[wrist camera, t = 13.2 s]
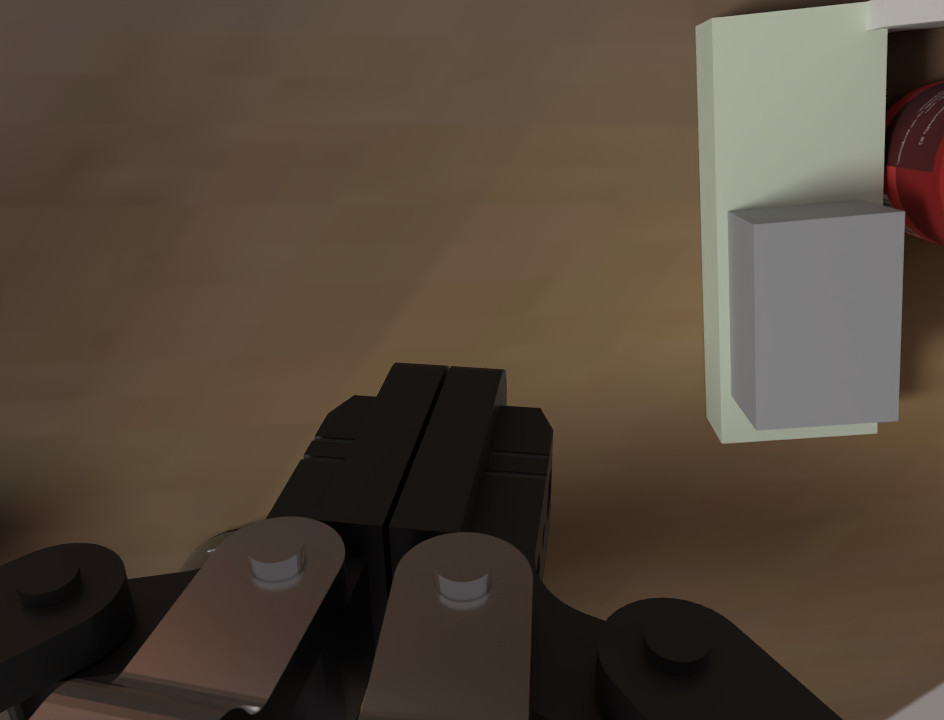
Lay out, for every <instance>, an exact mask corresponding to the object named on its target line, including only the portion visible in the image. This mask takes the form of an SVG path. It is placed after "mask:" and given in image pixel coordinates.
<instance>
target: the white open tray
mask: <svg viewBox="0 0 944 720" xmlns="http://www.w3.org/2000/svg"><path fill="white" fill-rule="evenodd" d="M939 27H944V0H870V1H867V2H858V3H849V4H840V5H830V6H821V7H812V8H802V9H793V10H784V11H774V12H765V13H756V14H746V15H737V16H728V17H718V18H711V19H709V20H707V21H705V22H704V23H702V24H700V25H698V26H696V61H697V96H698V132H699V168H700V204H701V240H702V276H703V312H704V347H705V383H706V417H707V419H708V421H709V422H710V424H711V426H712V428H713V429H714V431H715V433H716V435H717V436H718V438H719V440H720V441H721V443H722V444H726V443H741V442H756V441H771V440H786V439H801V438H816V437H831V436H846V435H861V434H876V433H877V422H892V421H898V415H899V384H900V353H901V323H902V292H903V261H904V230H905V211H902V210H898V209H894V208H891V207H887V206H883V186H884V147H885V109H886V70H887V33H891V32H901V31H910V30H920V29H929V28H939Z"/></svg>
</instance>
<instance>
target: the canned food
mask: <svg viewBox="0 0 944 720" xmlns="http://www.w3.org/2000/svg"><path fill="white" fill-rule="evenodd" d="M883 206H887V207H891V208H894V209H898V210H902V211H905V230H904V233H906V234H908V235H911V236H914V237H917V238H920V239H923V240H926V241H929V242H932V243H935V244H938V245H941V246H944V81H938V82H934V83H931V84H927V85H924V86H922V87H920V88H918V89H916V90H914V91H912V92H910V93H908V94H906V95H905V96H904V97H902V98H901V99H900V100H898V101H897V102H896V103H894V104H893V105H892V106H891V107H890V109H889V110H888V111H887V112H886V113H885V147H884V186H883Z"/></svg>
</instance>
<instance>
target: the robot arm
mask: <svg viewBox="0 0 944 720" xmlns="http://www.w3.org/2000/svg"><path fill="white" fill-rule="evenodd" d="M552 449H553V429H552V427H551V426H550V424H549V422H548V420H547V419H546V417H545V415H544V414H543V412H542V410H541V409H540V408H530V407H516V406H507V381H506V372H505V370H504V369H488V368H472V367H456V366H451V367H450V368H449V366H443V365H427V364H411V363H394V364H393V366H392V368H391V370H390V371H389V373H388V375H387V377H386V379H385V381H384V383H383V385H382V387H381V389H380V391H379V393H378V395H377V397H372V396H358V395H354V396H352V397H351V398H350V399H348V400H347V401H345V402H344V403H342V404H341V405H340V406H338V407H337V408H335V409H334V410H332V411H331V412H330V413H328V414H327V416H326V418H325V420H324V421H323V423H322V425H321V426H320V428H319V430H318V431H317V433H316V435H315V440H314V441H312V442H311V443H310V445H309V447H308V448H307V450H306V452H305V453H304V459H303V460H300V462H299V464H298V465H297V467H296V469H295V470H294V472H293V474H292V476H291V477H290V479H289V481H288V482H287V484H286V486H285V487H284V489H283V491H282V493H281V494H280V496H279V498H278V499H277V501H276V503H275V504H274V506H273V508H272V510H271V511H270V513H269V515H268V516H267V518H266V520H262V521H258V522H255V523H252V524H250V525H247V526H245V527H243V528H241V529H239V530H237V531H231V532H226V533H223V534H220V535H218V536H216V537H213V538H211V539H209V540H208V541H206V542H205V543H204V544H202V545H201V546H200V547H198V548H197V549H196V551H195V552H194V553H193V554H192V555H191V556H190V558H189V559H188V560H187V561H186V563H185V564H184V565H183V567H182V568H181V569H180V571H179V572H178V573H171V574H164V575H156V576H149V577H141V578H134V579H127V575H126V571H125V567H124V564H123V561H122V560H121V558H120V557H119V556H118V555H117V554H116V553H115V552H114V551H112V550H110V549H108V548H106V547H103V546H100V545H96V544H89V543H70V544H62V545H56V546H51V547H48V548H44V549H41V550H38V551H35V552H33V553H30V554H27V555H25V556H23V557H20V558H18V559H16V560H14V561H11V562H9V563H7V564H4V565H2V566H0V713H1V712H3V711H5V710H6V709H7V711H8V713H9V716H10V719H11V720H843V719H841V718H840V717H839V716H838V715H837V714H836V713H835V712H833V711H832V710H831V709H830V708H829V707H828V706H827V705H825V704H824V703H823V702H822V701H821V700H820V699H819V698H817V697H816V696H815V695H814V694H813V693H812V692H811V691H809V690H808V689H807V688H806V687H805V686H804V685H803V684H801V683H800V682H799V681H798V680H797V679H796V678H795V677H793V676H792V675H791V674H790V673H789V672H788V671H787V670H785V669H784V668H783V667H782V666H781V665H780V664H779V663H778V662H776V661H775V660H774V659H773V658H772V657H771V656H770V655H768V654H767V653H766V652H765V651H764V650H763V649H762V648H760V647H759V646H758V645H757V644H756V643H755V642H754V641H752V640H751V639H750V638H749V637H748V636H747V635H746V634H744V633H743V632H742V631H741V630H740V629H739V628H738V627H736V626H735V625H734V624H733V623H732V622H730V621H729V620H728V619H726V618H725V617H724V616H722V615H720V614H719V613H717V612H715V611H713V610H712V609H709V608H707V607H705V606H702V605H700V604H696V603H693V602H690V601H686V600H680V599H674V598H650V599H645V600H639V601H636V602H633V603H630V604H627V605H625V606H624V607H622V608H620V609H618V610H617V611H615V612H614V613H613V614H612V615H611V616H610V617H609V618H608V619H607V620H606V621H604V620H601V619H598V618H596V617H593V616H590V615H587V614H585V613H582V612H580V611H578V610H575V609H573V608H571V607H570V606H568V605H566V604H565V603H563V602H562V601H560V600H559V599H558V598H556V597H555V596H554V595H553V594H552V593H551V592H550V591H549V590H548V589H547V588H546V587H545V585H544V584H543V582H542V581H543V572H544V566H545V558H546V550H547V542H548V534H549V527H550V507H551V478H552ZM366 690H367V692H366ZM365 693H366V696H365ZM364 696H365V700H364V704H363V709H362V713H361V705H362V702H363V699H364Z"/></svg>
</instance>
